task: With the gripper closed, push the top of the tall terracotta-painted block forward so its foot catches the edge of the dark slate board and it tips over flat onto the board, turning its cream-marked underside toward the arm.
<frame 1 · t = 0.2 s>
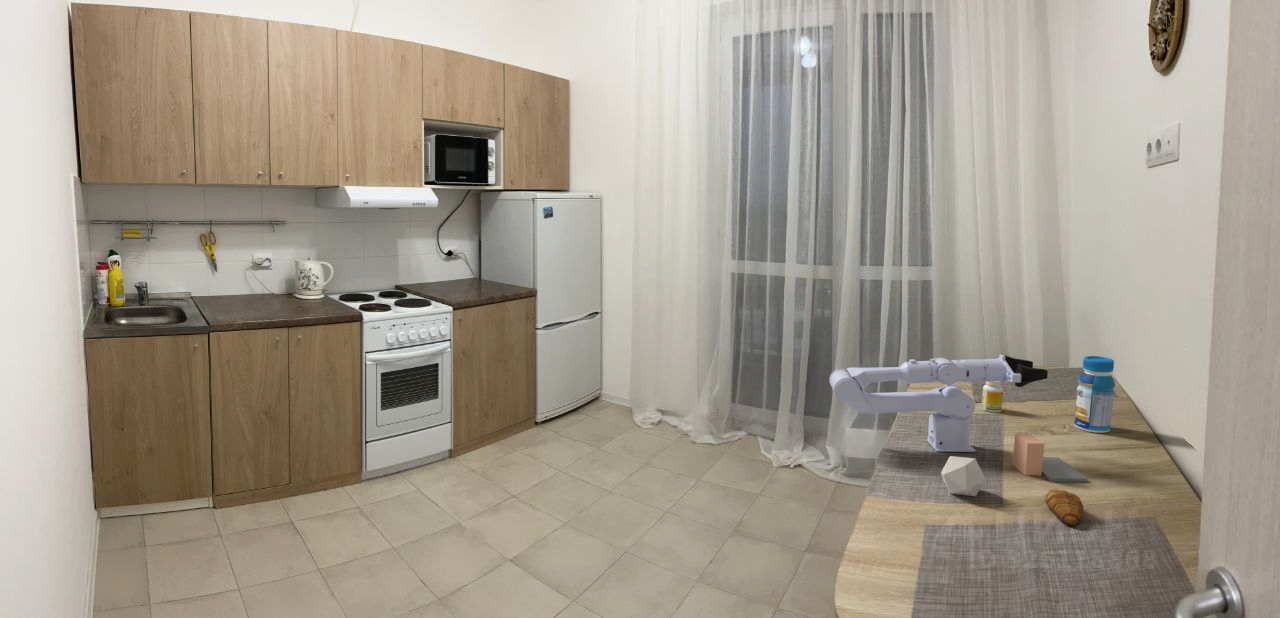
hand: (1039, 369, 155), 21 cm above the table, tool horizontal, fingers open, 7 cm apart
croissant: (1062, 513, 128), on the table
die: (961, 492, 137), on the table
board: (1054, 470, 146), on the table
beverage bottle: (1091, 428, 171), on the table
supplement bottle: (991, 410, 188), on the table
block: (1026, 470, 147), on the table
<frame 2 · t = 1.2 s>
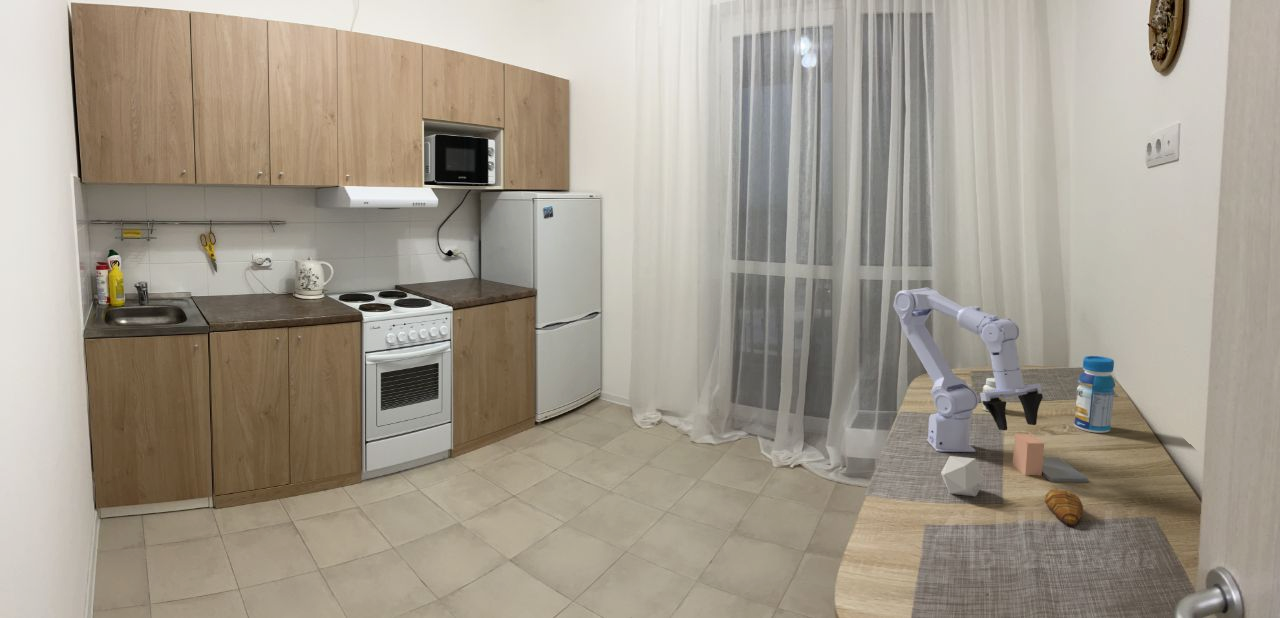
hand: (1017, 427, 145), 11 cm above the table, tool tilted 15°, fingers open, 7 cm apart
nothing on the table moved.
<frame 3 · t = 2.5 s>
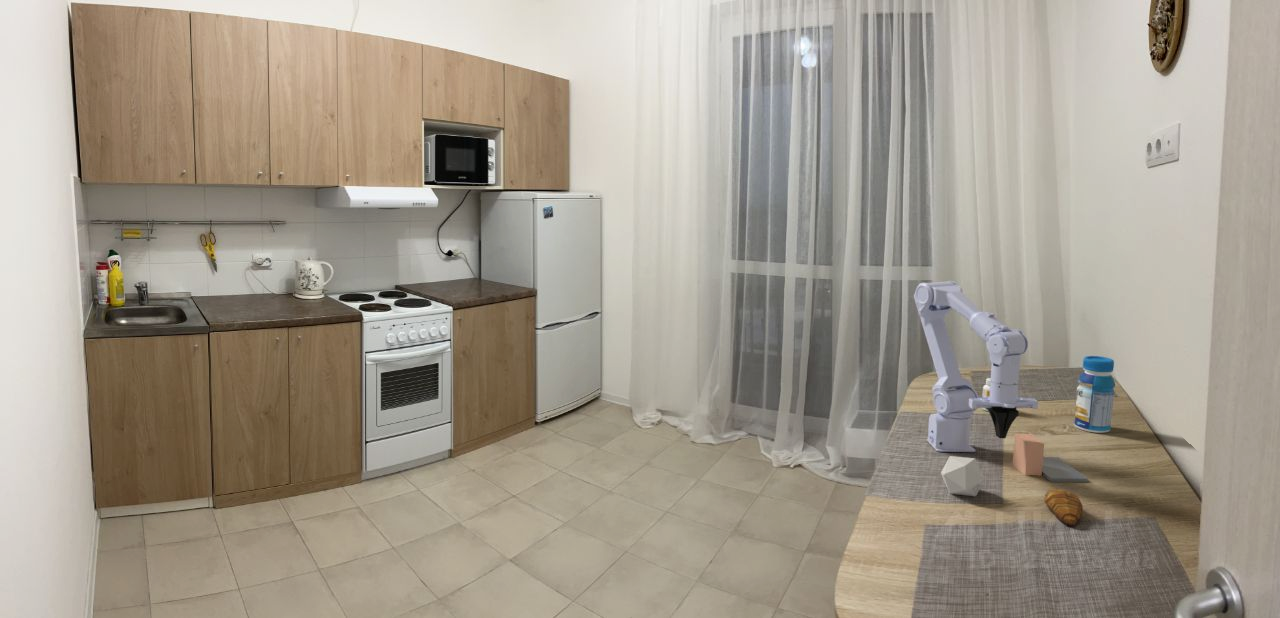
hand: (1000, 436, 146), 8 cm above the table, tool pointing down, fingers closed
nothing on the table moved.
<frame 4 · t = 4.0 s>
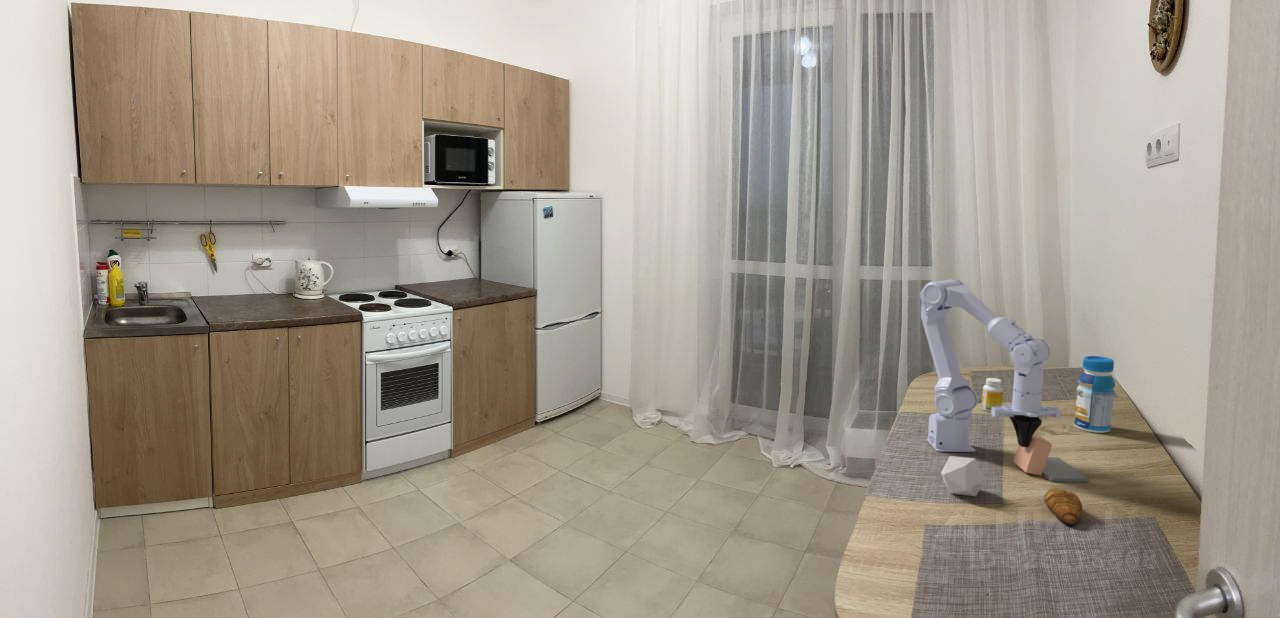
hand: (1023, 445, 146), 6 cm above the table, tool pointing down, fingers closed
block: (1027, 468, 147), on the table, tilted 13°
everything else where it was.
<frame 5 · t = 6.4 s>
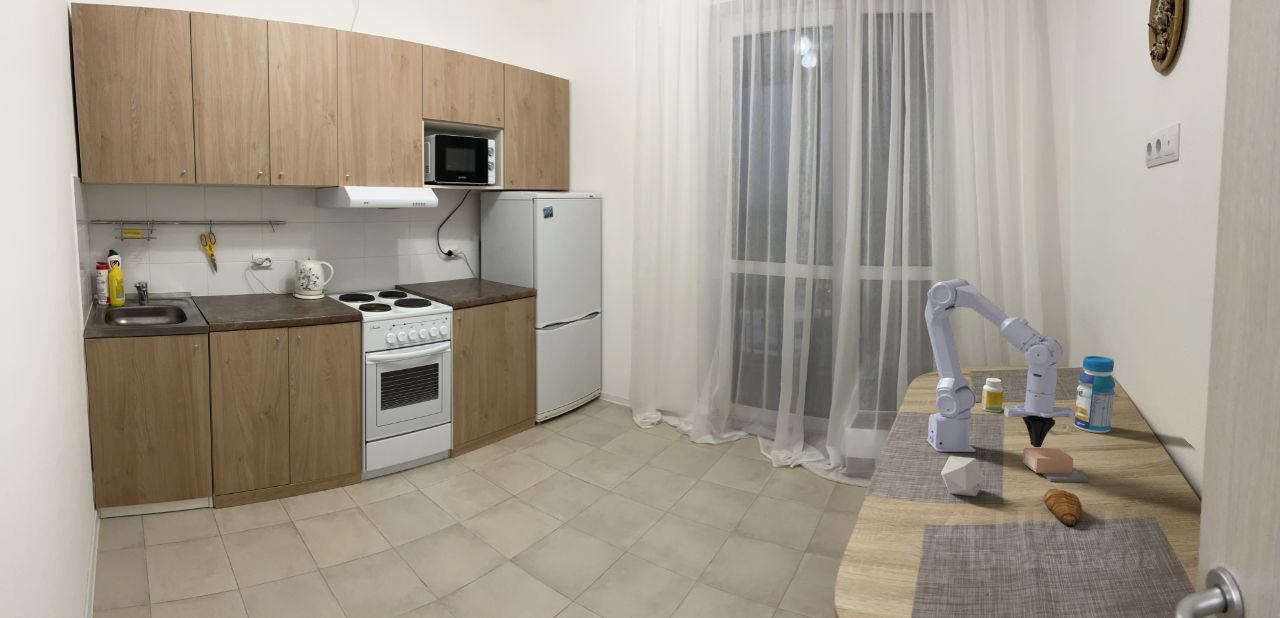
hand: (1035, 445, 146), 6 cm above the table, tool pointing down, fingers closed
block: (1029, 460, 146), point 3 cm above the table, tilted 90°, touching board
everything else where it was.
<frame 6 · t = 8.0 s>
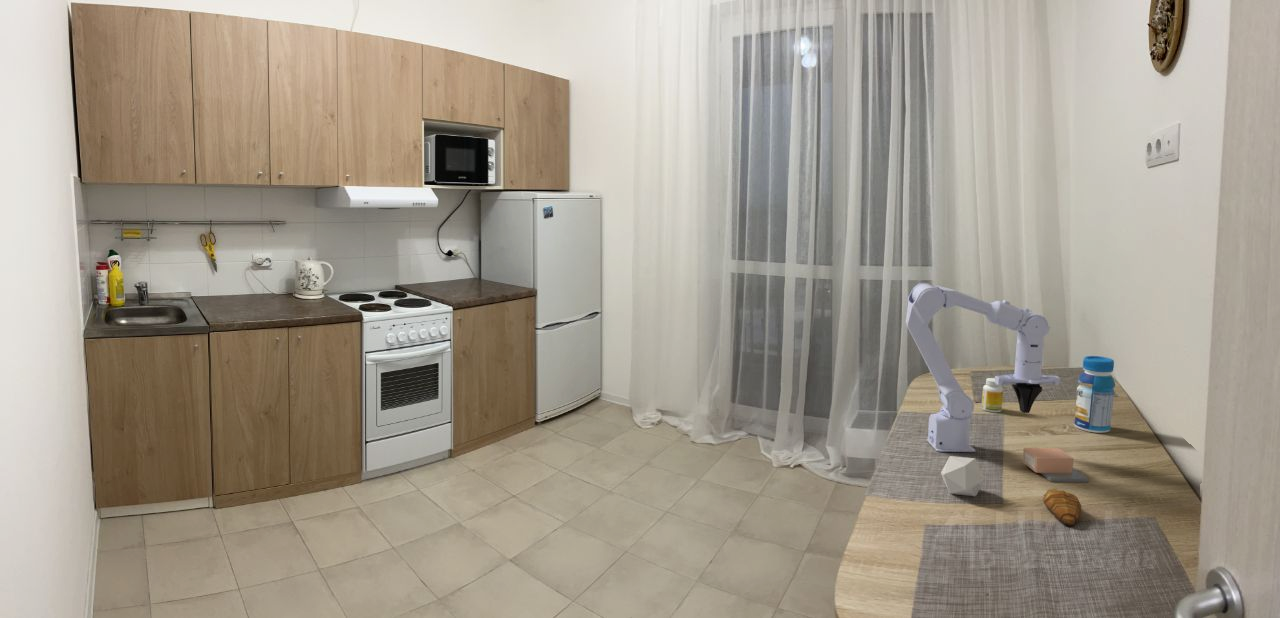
hand: (1024, 411, 156), 10 cm above the table, tool pointing down, fingers closed
nothing on the table moved.
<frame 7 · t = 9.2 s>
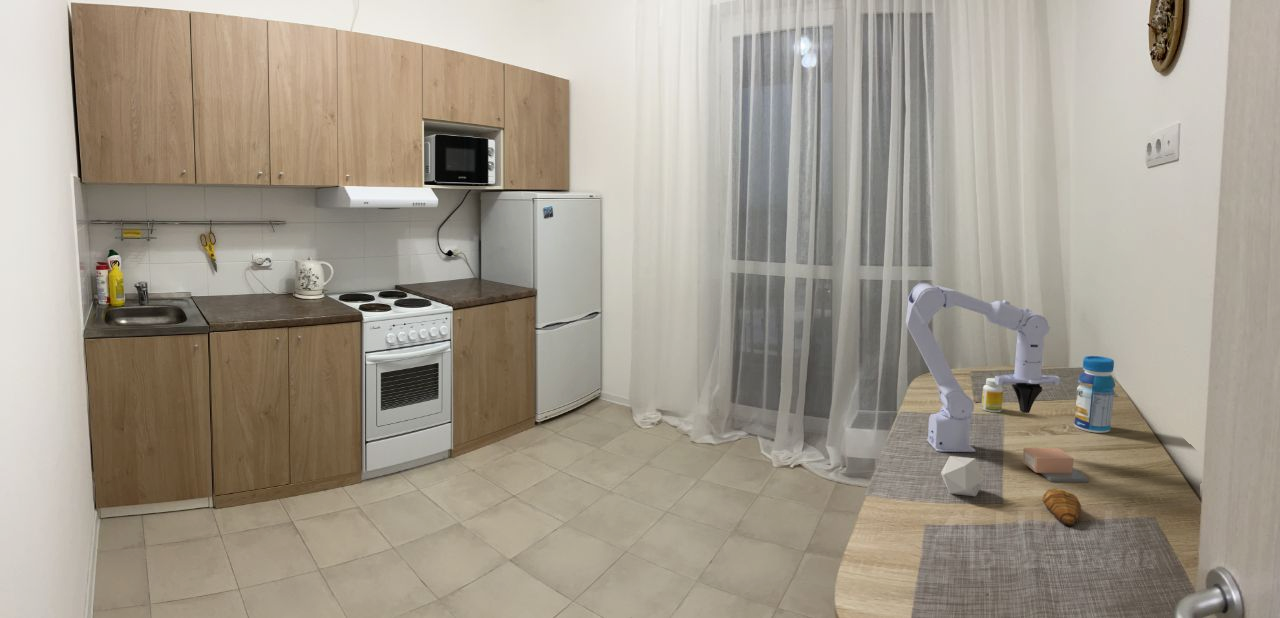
hand: (1024, 411, 156), 10 cm above the table, tool pointing down, fingers closed
nothing on the table moved.
at the end: block tilted 90°; block inside the target area (4.6 cm from its centre), point 2.6 cm above the table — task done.
